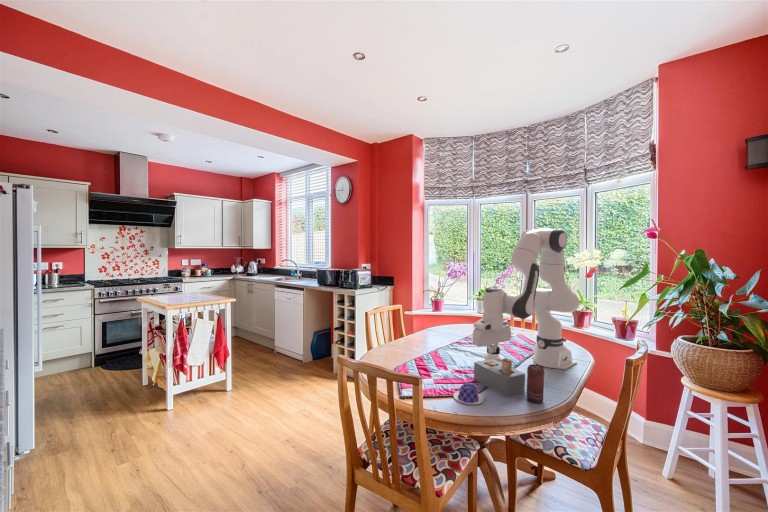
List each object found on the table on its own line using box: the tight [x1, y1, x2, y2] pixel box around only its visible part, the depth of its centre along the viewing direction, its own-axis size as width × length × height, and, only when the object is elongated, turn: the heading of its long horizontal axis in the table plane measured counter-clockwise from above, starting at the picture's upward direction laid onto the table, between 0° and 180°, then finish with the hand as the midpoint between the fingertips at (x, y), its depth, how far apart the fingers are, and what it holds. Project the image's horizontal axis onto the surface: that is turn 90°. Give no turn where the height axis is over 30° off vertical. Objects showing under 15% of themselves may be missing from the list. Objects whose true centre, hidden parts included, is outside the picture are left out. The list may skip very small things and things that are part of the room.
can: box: [526, 363, 545, 405], centre depth 133 cm, size 6×6×14 cm
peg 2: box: [501, 358, 513, 374], centre depth 142 cm, size 4×4×8 cm
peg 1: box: [487, 362, 496, 367], centre depth 151 cm, size 4×4×8 cm
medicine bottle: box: [484, 344, 503, 363], centre depth 165 cm, size 7×7×12 cm
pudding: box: [452, 383, 485, 405], centre depth 135 cm, size 12×12×5 cm
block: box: [473, 359, 526, 398], centre depth 147 cm, size 11×19×8 cm, turn 26°
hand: (492, 352), depth 151 cm, fingers closed
